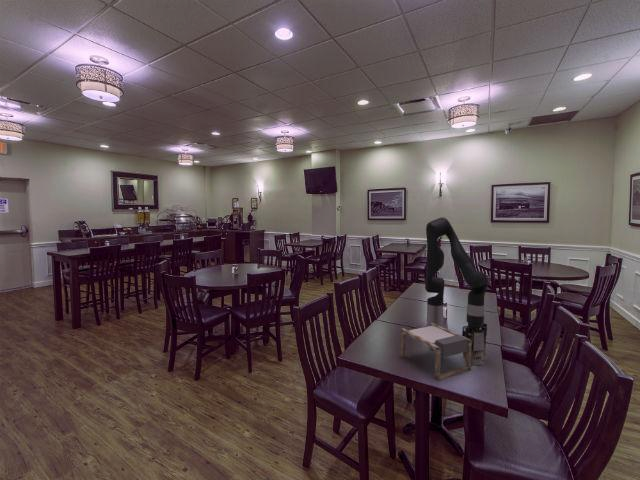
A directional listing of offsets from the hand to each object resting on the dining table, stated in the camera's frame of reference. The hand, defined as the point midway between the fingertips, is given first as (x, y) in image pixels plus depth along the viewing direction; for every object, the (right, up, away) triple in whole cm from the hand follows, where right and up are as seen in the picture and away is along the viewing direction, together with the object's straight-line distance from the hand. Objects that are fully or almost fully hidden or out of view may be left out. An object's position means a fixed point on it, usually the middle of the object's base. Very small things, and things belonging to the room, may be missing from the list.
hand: (474, 345), depth 148 cm
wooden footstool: (-20, -8, -1) cm, 21 cm away
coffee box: (0, -8, +1) cm, 8 cm away
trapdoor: (-19, +2, -3) cm, 20 cm away
